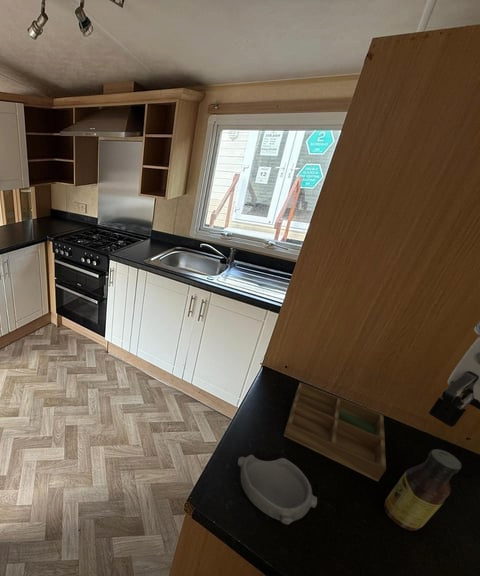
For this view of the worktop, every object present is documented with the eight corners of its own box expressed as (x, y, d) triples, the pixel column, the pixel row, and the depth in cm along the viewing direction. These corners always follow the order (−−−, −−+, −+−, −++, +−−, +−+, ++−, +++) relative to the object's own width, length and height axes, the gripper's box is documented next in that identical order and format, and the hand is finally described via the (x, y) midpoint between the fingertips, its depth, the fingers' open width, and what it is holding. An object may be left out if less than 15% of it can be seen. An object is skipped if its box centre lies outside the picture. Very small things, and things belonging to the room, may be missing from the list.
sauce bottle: (388, 495, 71) (430, 436, 62) (425, 522, 66) (476, 461, 57) (376, 511, 68) (418, 451, 59) (413, 540, 63) (465, 479, 54)
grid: (295, 393, 99) (300, 382, 97) (376, 426, 88) (383, 414, 86) (283, 435, 85) (288, 424, 83) (378, 481, 74) (386, 469, 72)
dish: (227, 469, 76) (231, 455, 74) (276, 458, 79) (281, 445, 77) (267, 536, 64) (274, 522, 61) (324, 520, 66) (332, 507, 64)
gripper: (523, 359, 42) (456, 444, 49) (581, 334, 47) (513, 414, 55) (450, 329, 48) (401, 409, 56) (509, 310, 53) (457, 385, 61)
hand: (457, 412), depth 55 cm, fingers open, 9 cm apart
